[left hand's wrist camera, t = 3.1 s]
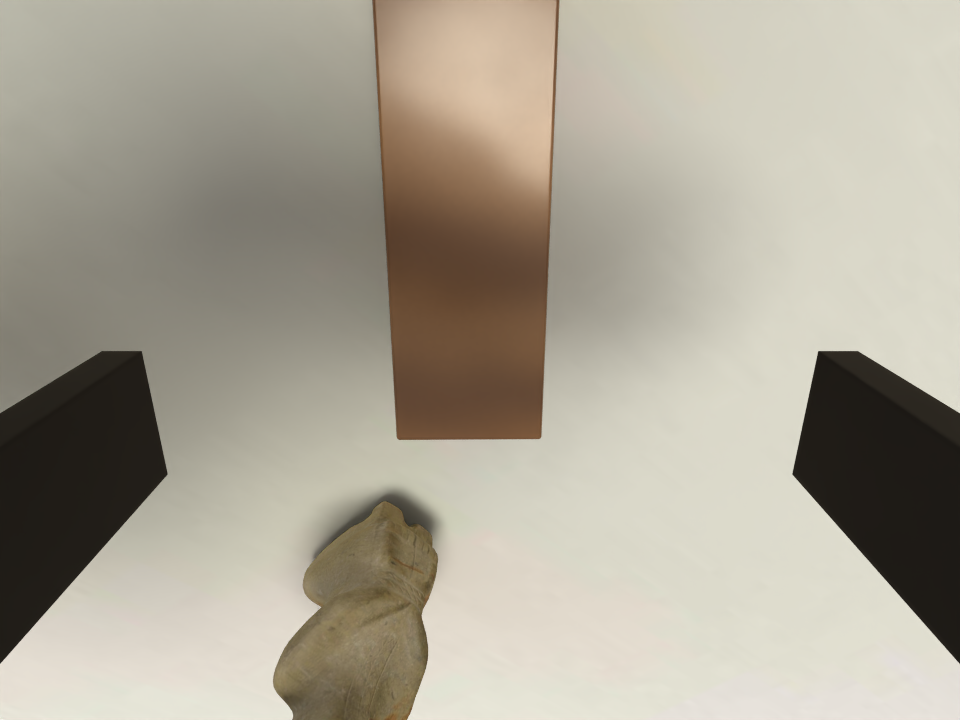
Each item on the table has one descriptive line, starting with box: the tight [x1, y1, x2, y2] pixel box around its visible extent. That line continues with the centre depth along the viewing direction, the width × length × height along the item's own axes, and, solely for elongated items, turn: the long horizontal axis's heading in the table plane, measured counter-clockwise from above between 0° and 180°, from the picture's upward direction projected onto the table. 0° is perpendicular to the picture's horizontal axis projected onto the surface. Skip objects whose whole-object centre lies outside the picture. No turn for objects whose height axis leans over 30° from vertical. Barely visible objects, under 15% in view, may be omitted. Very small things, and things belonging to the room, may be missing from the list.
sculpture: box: [273, 501, 438, 720], centre depth 26 cm, size 6×7×15 cm
